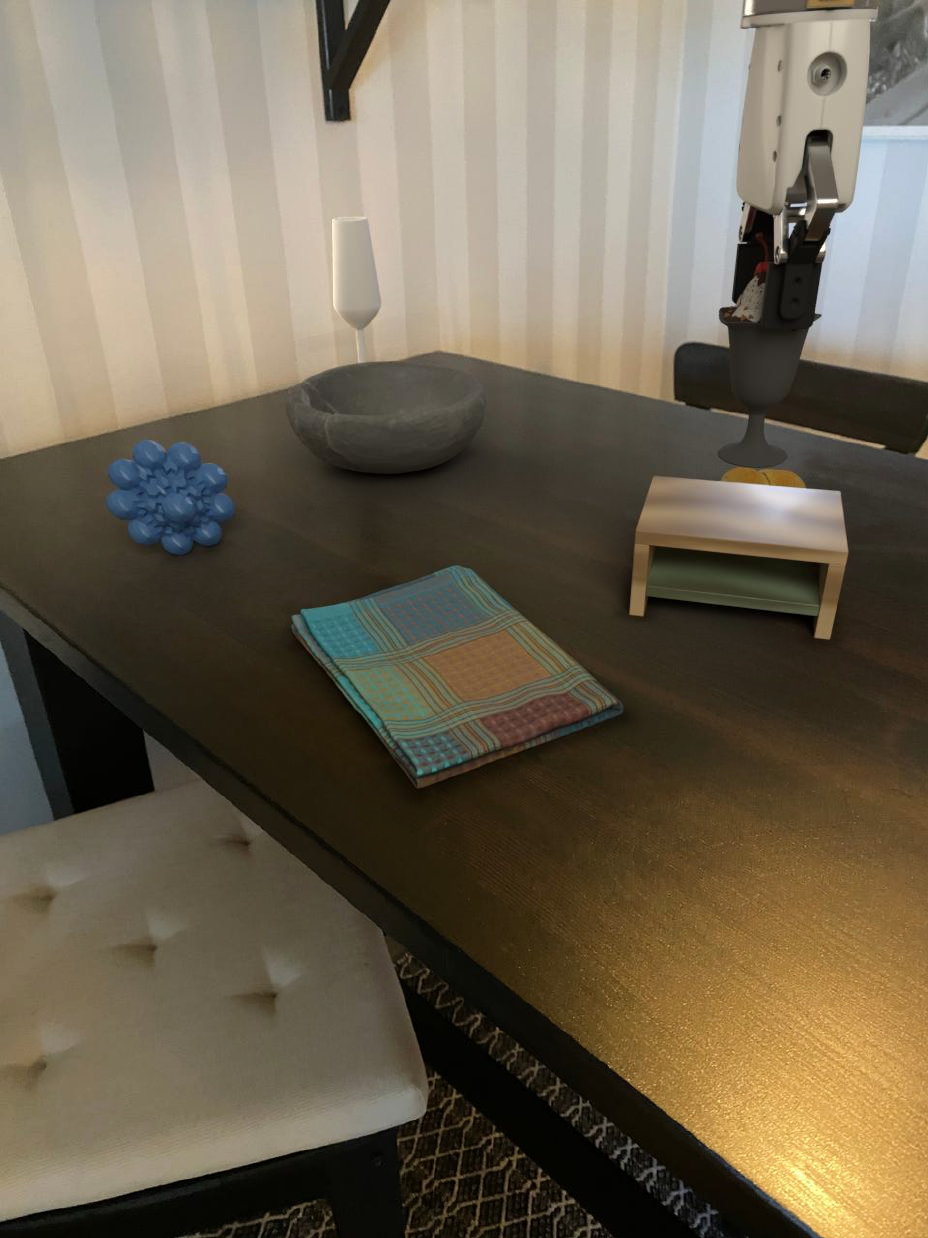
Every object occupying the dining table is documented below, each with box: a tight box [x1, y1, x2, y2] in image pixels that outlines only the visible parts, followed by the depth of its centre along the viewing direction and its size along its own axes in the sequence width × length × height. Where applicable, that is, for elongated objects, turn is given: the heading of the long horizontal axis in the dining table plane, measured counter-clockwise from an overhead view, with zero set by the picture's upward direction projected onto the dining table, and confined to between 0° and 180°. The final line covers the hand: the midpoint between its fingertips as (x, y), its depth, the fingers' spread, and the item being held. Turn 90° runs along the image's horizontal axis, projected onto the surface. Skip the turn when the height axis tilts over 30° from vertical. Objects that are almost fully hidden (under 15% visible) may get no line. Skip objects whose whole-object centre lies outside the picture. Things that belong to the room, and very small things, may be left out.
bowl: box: [285, 360, 487, 475], centre depth 105 cm, size 23×22×10 cm
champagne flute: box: [331, 215, 382, 363], centre depth 126 cm, size 7×7×24 cm
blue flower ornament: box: [106, 439, 236, 556], centre depth 85 cm, size 12×7×12 cm, turn 119°
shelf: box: [628, 475, 849, 640], centre depth 77 cm, size 12×16×8 cm
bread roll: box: [720, 466, 807, 489], centre depth 94 cm, size 8×9×4 cm
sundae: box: [716, 233, 823, 469], centre depth 62 cm, size 7×7×15 cm
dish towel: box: [290, 564, 624, 790], centre depth 69 cm, size 17×23×2 cm
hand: (769, 312), depth 61 cm, fingers closed on sundae, 6 cm apart
